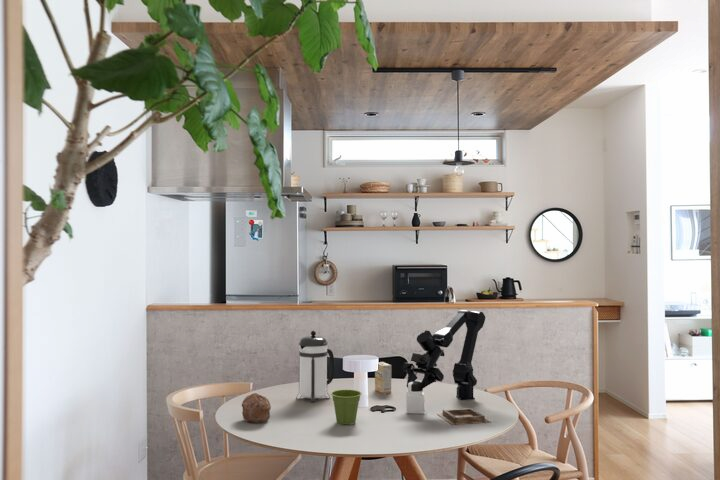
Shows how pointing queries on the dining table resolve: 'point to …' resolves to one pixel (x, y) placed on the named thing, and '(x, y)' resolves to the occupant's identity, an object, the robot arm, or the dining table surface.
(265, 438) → the dining table surface
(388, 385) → the supplement box
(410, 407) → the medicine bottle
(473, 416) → the walnut dock
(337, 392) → the plant pot
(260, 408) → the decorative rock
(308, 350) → the coffee press
